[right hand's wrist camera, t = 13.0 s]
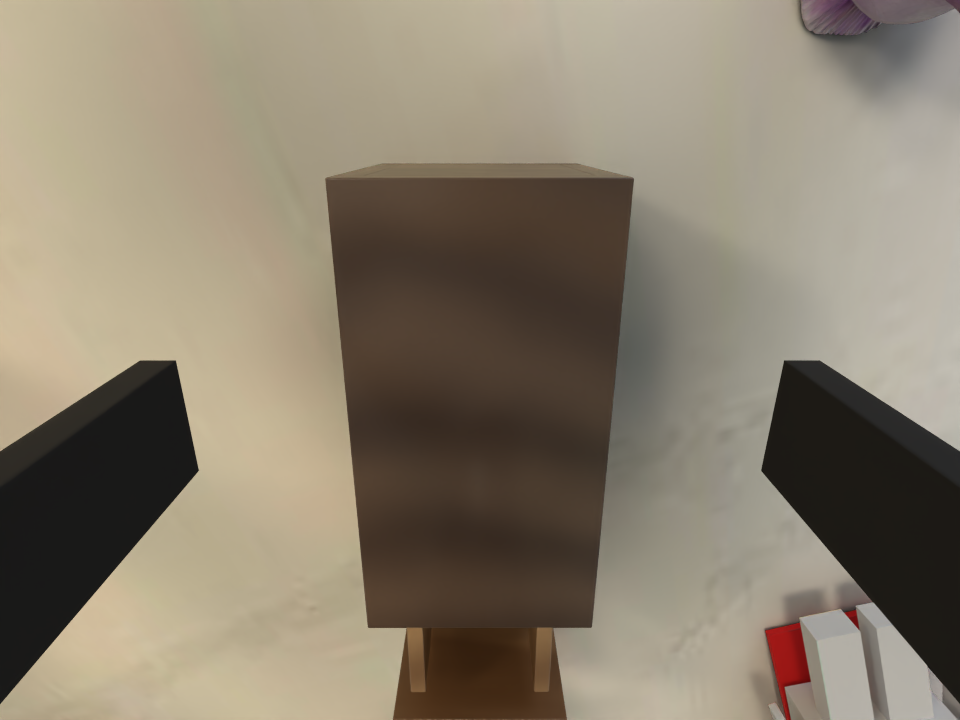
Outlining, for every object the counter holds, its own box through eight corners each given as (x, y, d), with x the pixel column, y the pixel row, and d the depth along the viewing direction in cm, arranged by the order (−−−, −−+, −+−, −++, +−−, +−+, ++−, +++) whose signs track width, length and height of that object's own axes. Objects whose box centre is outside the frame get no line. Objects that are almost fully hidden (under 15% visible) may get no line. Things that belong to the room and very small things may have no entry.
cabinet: (558, 484, 37) (592, 628, 26) (400, 485, 37) (367, 628, 26) (578, 163, 30) (634, 177, 19) (381, 163, 30) (324, 177, 19)
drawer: (542, 659, 42) (560, 802, 33) (416, 659, 42) (399, 802, 33) (559, 348, 33) (590, 428, 24) (399, 348, 33) (369, 428, 24)
